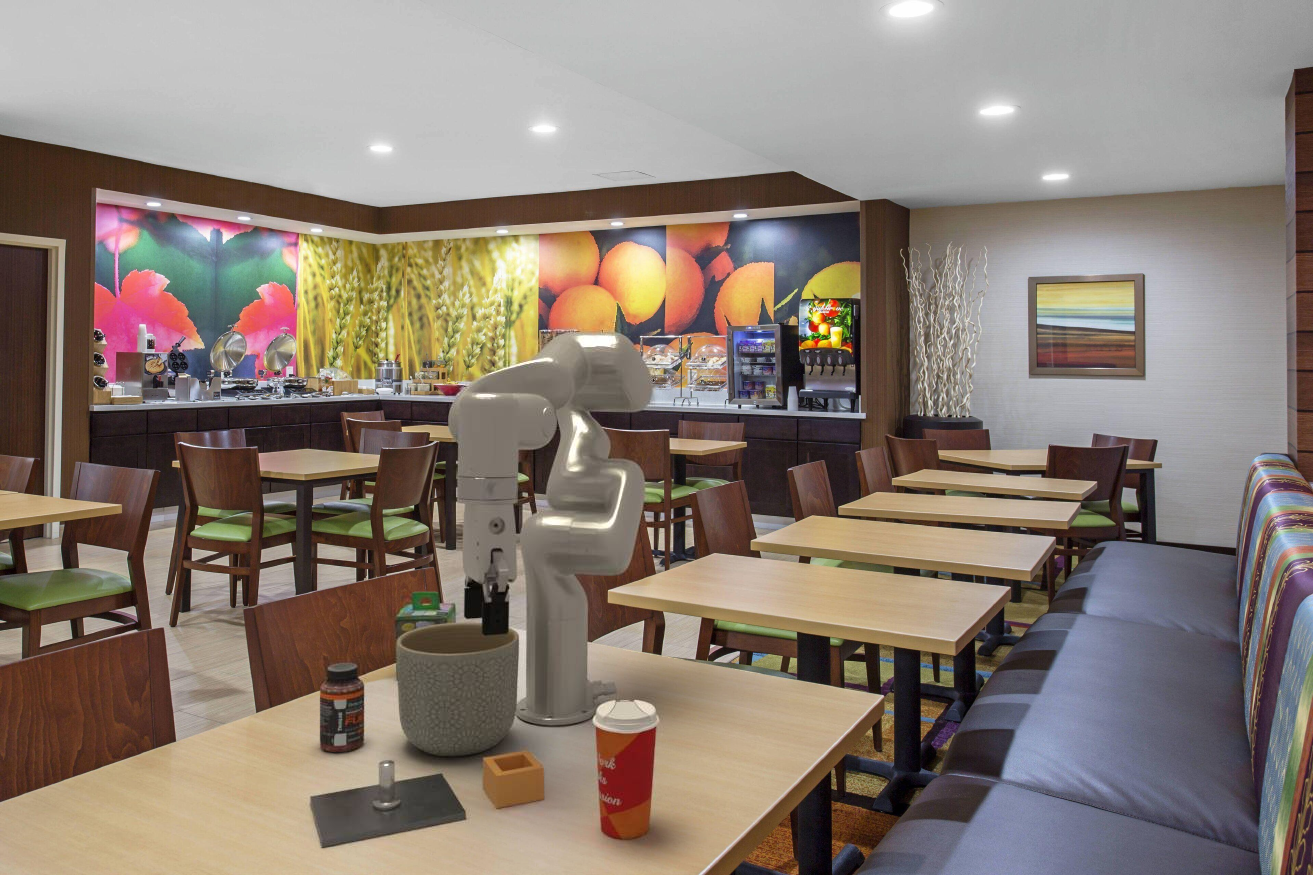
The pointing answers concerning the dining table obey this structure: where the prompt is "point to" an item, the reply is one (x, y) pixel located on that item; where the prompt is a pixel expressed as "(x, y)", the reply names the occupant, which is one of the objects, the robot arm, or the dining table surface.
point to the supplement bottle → (341, 709)
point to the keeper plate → (385, 807)
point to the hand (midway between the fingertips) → (485, 625)
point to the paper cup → (625, 766)
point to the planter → (456, 687)
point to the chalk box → (423, 614)
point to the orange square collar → (513, 779)
